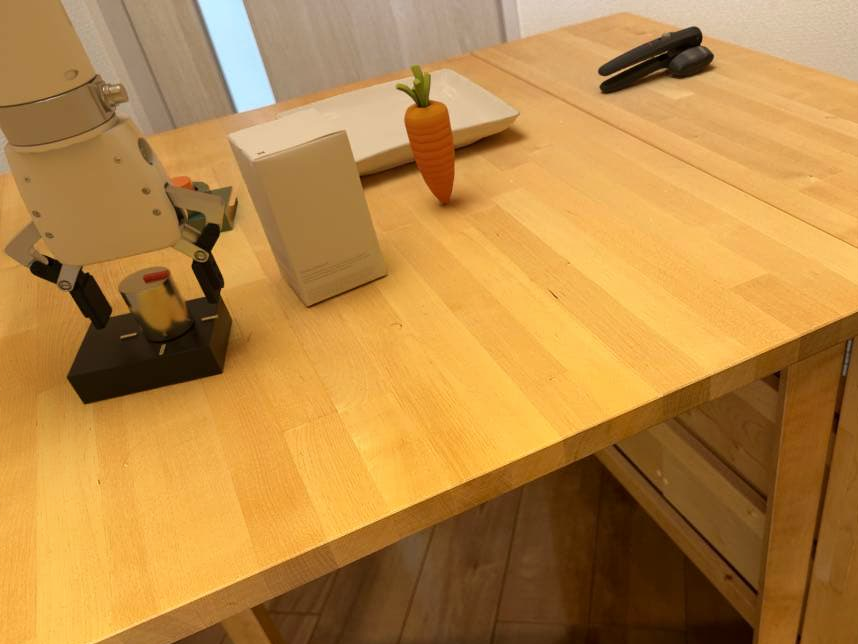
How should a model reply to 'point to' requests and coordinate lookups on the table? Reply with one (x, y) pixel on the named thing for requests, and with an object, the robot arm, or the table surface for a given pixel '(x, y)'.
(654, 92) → the table surface
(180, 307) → the burner knob
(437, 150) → the carrot
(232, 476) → the table surface
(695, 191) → the table surface
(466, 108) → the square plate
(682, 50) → the can opener
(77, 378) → the stove panel
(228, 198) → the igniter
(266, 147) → the white product box
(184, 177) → the button
